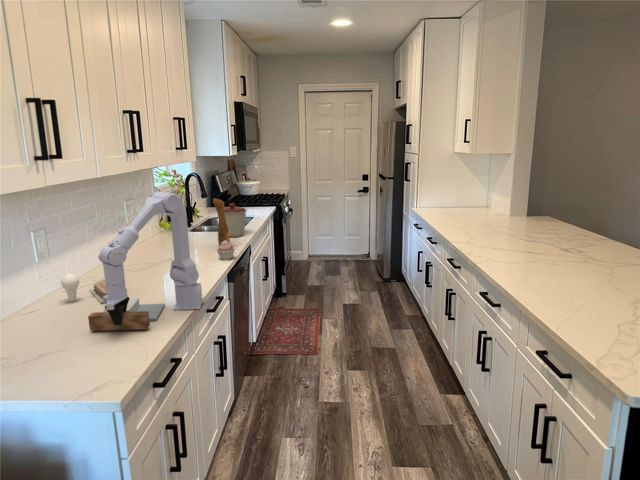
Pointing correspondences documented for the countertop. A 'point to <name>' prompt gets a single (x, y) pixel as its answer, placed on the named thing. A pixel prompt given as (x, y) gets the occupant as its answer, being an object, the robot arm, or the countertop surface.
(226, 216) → the canister
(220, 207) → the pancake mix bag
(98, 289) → the packaged product
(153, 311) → the ridge board
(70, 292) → the lightbulb
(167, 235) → the countertop surface
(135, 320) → the walnut batten
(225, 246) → the cupcake
